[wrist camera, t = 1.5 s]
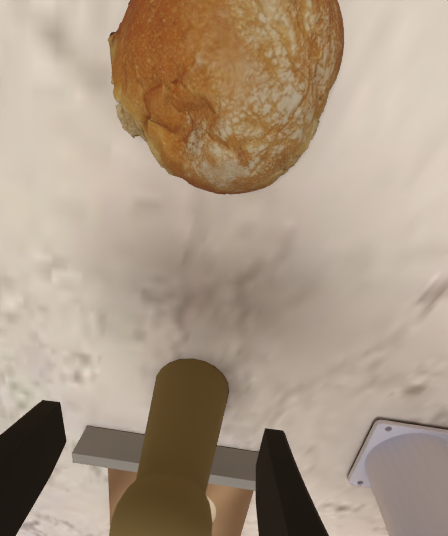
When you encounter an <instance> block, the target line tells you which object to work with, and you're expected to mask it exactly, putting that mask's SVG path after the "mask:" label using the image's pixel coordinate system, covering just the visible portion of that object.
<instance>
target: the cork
mask: <svg viewBox="0 0 448 536" xmlns="http://www.w3.org/2000/svg"><path fill="white" fill-rule="evenodd" d="M228 394H229V387H228V382H227V380H226V378H225V377H224V375H223V374H222V373H221V372H220V371H219V370H218V369H217V368H216V367H215V366H213V365H211V364H209V363H207V362H205V361H200V360H196V359H180V360H176V361H173V362H170V363H169V364H167V365H166V366H164V367H163V368H162V369H161V370H160V372H159V373H158V375H157V377H156V382H155V387H154V392H153V397H152V402H151V407H150V412H149V417H148V422H147V427H146V432H145V437H144V442H143V447H142V452H141V457H140V462H139V466H138V471H137V476H136V481H134V482H133V483H132V484H131V485H130V486H129V487H128V488H127V489H126V491H125V492H124V494H123V495H122V497H121V499H120V500H119V502H118V504H117V505H116V508H115V511H114V514H113V516H112V520H111V527H110V534H109V536H212V526H213V523H212V515H211V508H210V503H209V500H208V498H207V496H206V490H207V486H208V481H209V477H210V472H211V468H212V464H213V459H214V455H215V451H216V446H217V442H218V438H219V433H220V429H221V424H222V420H223V416H224V411H225V407H226V403H227V398H228Z"/></svg>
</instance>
